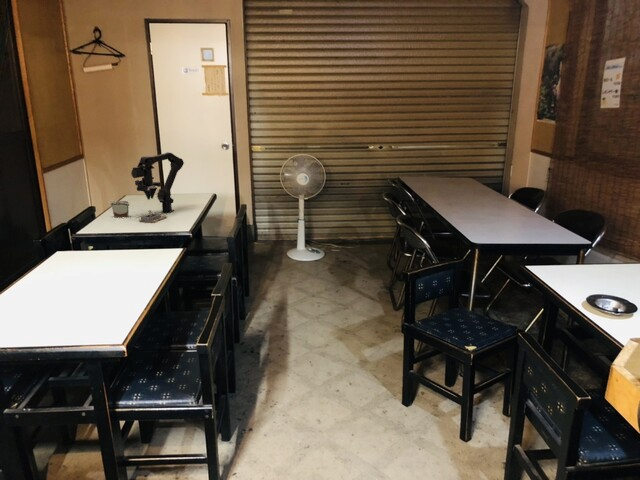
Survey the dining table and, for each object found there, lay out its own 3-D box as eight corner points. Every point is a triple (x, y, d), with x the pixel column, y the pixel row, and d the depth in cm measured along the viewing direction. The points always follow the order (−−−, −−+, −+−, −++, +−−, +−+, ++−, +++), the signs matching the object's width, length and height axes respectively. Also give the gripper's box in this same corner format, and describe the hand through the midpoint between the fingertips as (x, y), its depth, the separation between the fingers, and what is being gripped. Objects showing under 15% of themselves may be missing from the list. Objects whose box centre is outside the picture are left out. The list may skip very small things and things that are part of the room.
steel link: (150, 216, 327) (150, 213, 327) (161, 217, 325) (160, 214, 324) (141, 220, 318) (140, 217, 317) (151, 221, 316) (151, 218, 315)
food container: (134, 215, 336) (132, 200, 333) (129, 217, 330) (128, 202, 327) (116, 215, 337) (114, 200, 334) (112, 217, 331) (110, 202, 328)
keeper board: (152, 216, 331) (151, 206, 329) (166, 217, 328) (165, 207, 326) (139, 222, 318) (137, 211, 316) (153, 223, 315) (152, 212, 313)
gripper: (146, 173, 339) (148, 195, 343) (128, 177, 322) (131, 201, 326) (160, 173, 336) (162, 196, 340) (143, 178, 319) (145, 202, 323)
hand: (150, 199), depth 332 cm, fingers open, 3 cm apart
